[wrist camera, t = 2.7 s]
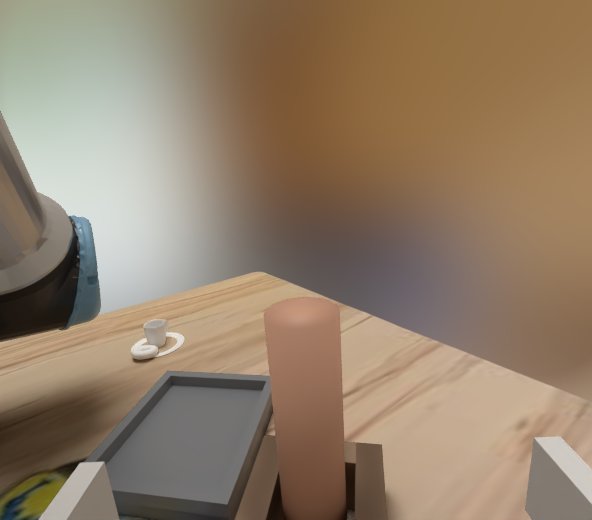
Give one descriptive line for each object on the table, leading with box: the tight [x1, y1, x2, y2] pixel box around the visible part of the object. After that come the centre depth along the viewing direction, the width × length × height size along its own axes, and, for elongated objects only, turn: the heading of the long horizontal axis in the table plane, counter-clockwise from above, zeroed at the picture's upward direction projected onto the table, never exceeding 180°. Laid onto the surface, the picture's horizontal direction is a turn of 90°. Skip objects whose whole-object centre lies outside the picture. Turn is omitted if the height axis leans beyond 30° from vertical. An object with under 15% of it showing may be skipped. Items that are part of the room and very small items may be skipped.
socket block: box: [235, 435, 387, 520], centre depth 25 cm, size 10×10×4 cm
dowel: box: [264, 297, 347, 520], centre depth 23 cm, size 4×4×18 cm
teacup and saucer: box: [131, 319, 184, 359], centre depth 55 cm, size 9×8×4 cm
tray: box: [65, 371, 273, 520], centre depth 35 cm, size 14×16×2 cm
